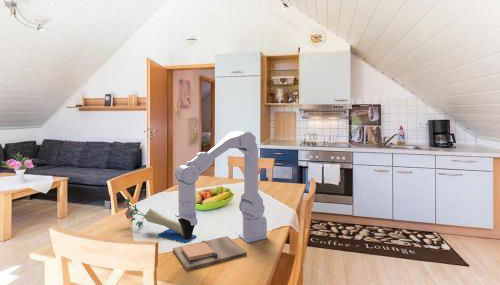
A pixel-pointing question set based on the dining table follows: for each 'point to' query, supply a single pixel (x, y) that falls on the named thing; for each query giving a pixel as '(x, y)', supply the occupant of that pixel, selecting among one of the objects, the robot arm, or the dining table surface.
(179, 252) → the board
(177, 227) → the flower vase
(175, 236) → the blue flat pad
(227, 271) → the dining table surface
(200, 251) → the tile
